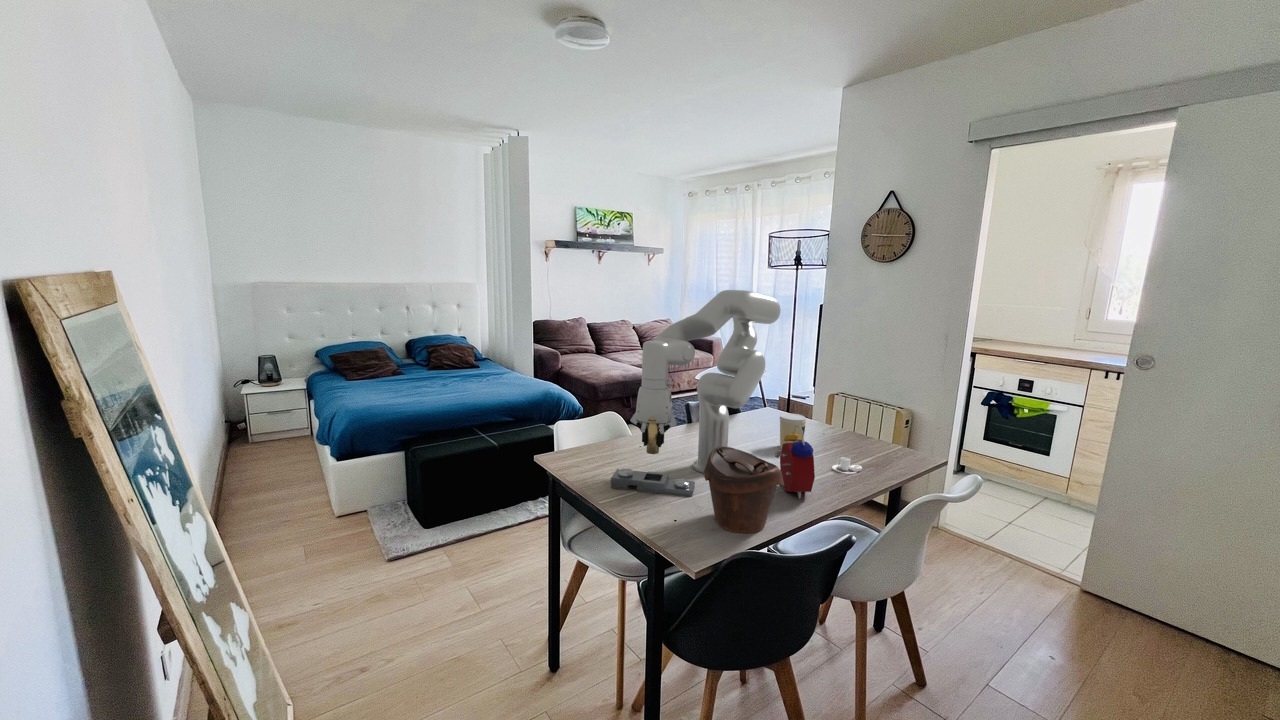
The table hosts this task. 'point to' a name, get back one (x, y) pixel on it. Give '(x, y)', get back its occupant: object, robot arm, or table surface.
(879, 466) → the table surface
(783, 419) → the coffee cup
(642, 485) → the grey bolted base plate
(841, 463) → the teacup and saucer
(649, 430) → the pin
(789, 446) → the alarm clock
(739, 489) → the brown flower pot
